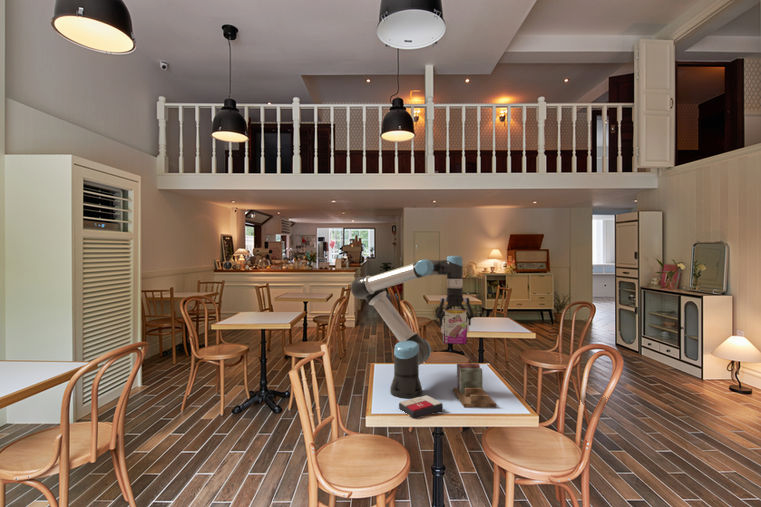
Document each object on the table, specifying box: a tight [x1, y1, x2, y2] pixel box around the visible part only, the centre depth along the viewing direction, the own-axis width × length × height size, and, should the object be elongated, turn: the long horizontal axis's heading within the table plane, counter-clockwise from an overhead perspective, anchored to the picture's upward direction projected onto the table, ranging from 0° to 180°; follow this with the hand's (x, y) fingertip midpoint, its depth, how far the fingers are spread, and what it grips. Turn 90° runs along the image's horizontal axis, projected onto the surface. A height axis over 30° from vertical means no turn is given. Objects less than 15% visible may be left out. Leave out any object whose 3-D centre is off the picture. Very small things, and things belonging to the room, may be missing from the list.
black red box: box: [398, 394, 444, 419], centre depth 153 cm, size 11×4×15 cm
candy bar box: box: [442, 308, 468, 345], centre depth 178 cm, size 11×5×16 cm, turn 87°
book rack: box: [452, 362, 497, 408], centre depth 168 cm, size 14×21×14 cm, turn 2°
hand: (454, 332), depth 178 cm, fingers closed on candy bar box, 11 cm apart
